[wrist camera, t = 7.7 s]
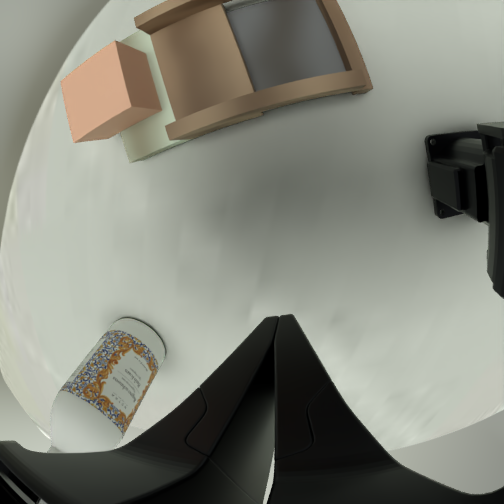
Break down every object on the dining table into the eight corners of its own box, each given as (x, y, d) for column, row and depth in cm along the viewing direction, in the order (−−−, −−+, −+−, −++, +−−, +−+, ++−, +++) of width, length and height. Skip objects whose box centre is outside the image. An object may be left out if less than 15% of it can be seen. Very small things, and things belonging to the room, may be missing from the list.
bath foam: (178, 358, 28) (104, 517, 10) (138, 365, 30) (64, 493, 12) (142, 309, 26) (28, 470, 8) (104, 322, 28) (6, 449, 10)
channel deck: (318, -16, 12) (322, -42, 8) (365, 92, 15) (382, 82, 12) (114, 58, 16) (85, 50, 13) (143, 160, 20) (114, 166, 16)
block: (146, 53, 14) (114, 40, 11) (162, 110, 16) (131, 106, 12) (94, 85, 16) (60, 81, 12) (108, 138, 17) (73, 142, 14)
